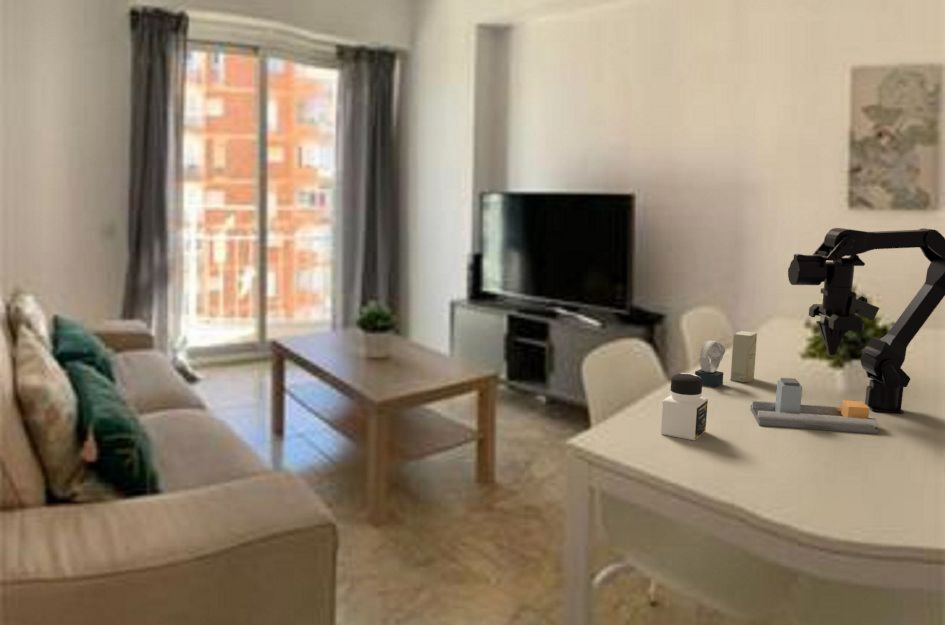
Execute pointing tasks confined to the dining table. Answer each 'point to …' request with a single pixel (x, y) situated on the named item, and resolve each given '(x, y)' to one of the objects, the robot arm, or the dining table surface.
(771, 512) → the dining table surface
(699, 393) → the medicine bottle
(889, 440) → the dining table surface
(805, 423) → the rail plate
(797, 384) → the block
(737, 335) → the skincare box
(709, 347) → the watch
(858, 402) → the plain orange cuboid
